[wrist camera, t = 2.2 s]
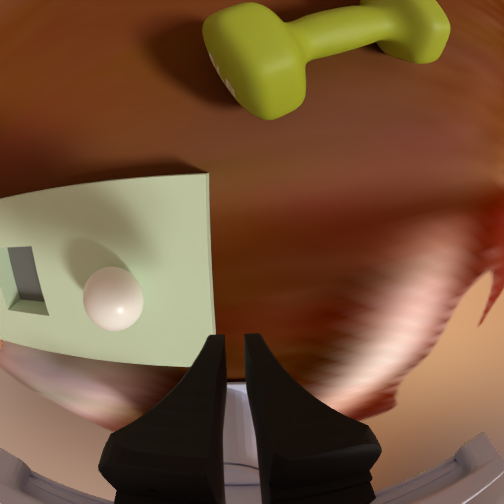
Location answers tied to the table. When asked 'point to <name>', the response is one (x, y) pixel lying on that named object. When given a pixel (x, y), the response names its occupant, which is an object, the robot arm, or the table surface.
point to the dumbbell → (312, 45)
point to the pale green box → (109, 255)
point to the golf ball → (113, 298)
